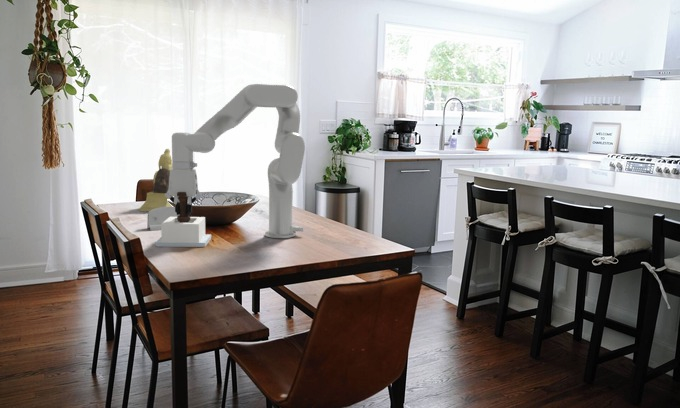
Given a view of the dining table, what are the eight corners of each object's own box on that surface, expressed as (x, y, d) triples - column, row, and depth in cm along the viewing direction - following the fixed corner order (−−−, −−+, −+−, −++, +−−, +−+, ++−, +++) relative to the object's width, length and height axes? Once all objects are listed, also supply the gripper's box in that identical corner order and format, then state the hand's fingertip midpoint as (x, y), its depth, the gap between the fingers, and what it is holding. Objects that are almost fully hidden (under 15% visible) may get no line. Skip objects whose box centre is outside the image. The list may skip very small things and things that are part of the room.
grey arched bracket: (149, 230, 224) (146, 207, 225) (147, 232, 228) (144, 209, 229) (189, 227, 233) (186, 204, 234) (186, 228, 237) (183, 206, 238)
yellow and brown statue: (164, 202, 292) (162, 146, 287) (187, 203, 291) (186, 147, 286) (140, 211, 265) (137, 150, 260) (165, 212, 263) (163, 151, 258)
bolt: (182, 232, 202) (181, 192, 199) (173, 230, 204) (172, 191, 202) (194, 229, 207) (193, 190, 204) (185, 227, 209) (184, 189, 207)
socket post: (211, 238, 214) (211, 217, 213) (205, 246, 200) (204, 224, 199) (164, 237, 213) (164, 216, 211) (155, 246, 199) (154, 223, 198)
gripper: (206, 165, 206) (207, 213, 209) (162, 164, 205) (163, 212, 208) (203, 167, 199) (204, 216, 202) (157, 166, 197) (158, 216, 200)
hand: (183, 213), depth 205 cm, fingers closed on bolt, 3 cm apart
